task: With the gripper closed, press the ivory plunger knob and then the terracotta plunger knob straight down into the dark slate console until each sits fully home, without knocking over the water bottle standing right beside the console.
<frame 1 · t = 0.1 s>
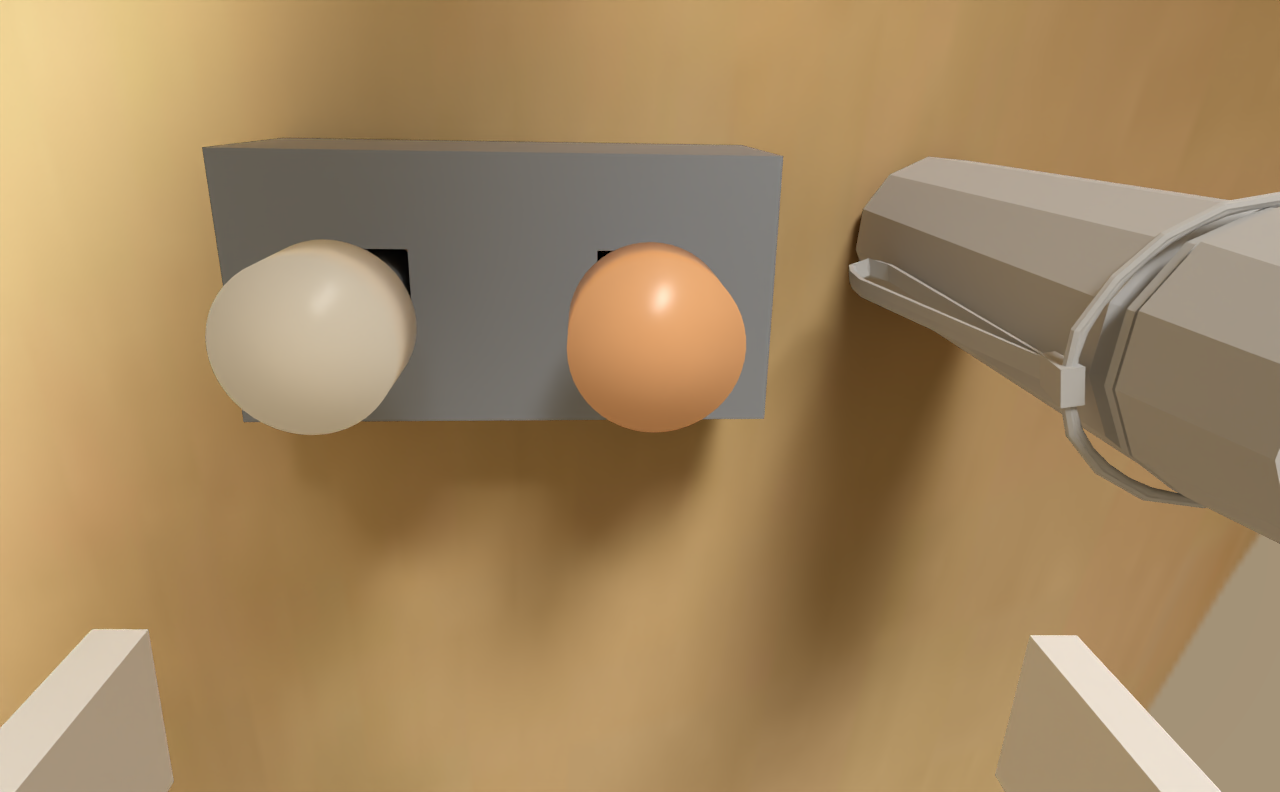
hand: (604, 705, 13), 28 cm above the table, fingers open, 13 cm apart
console: (520, 255, 38), on the table
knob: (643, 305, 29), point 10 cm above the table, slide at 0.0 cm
water bottle: (904, 236, 39), on the table
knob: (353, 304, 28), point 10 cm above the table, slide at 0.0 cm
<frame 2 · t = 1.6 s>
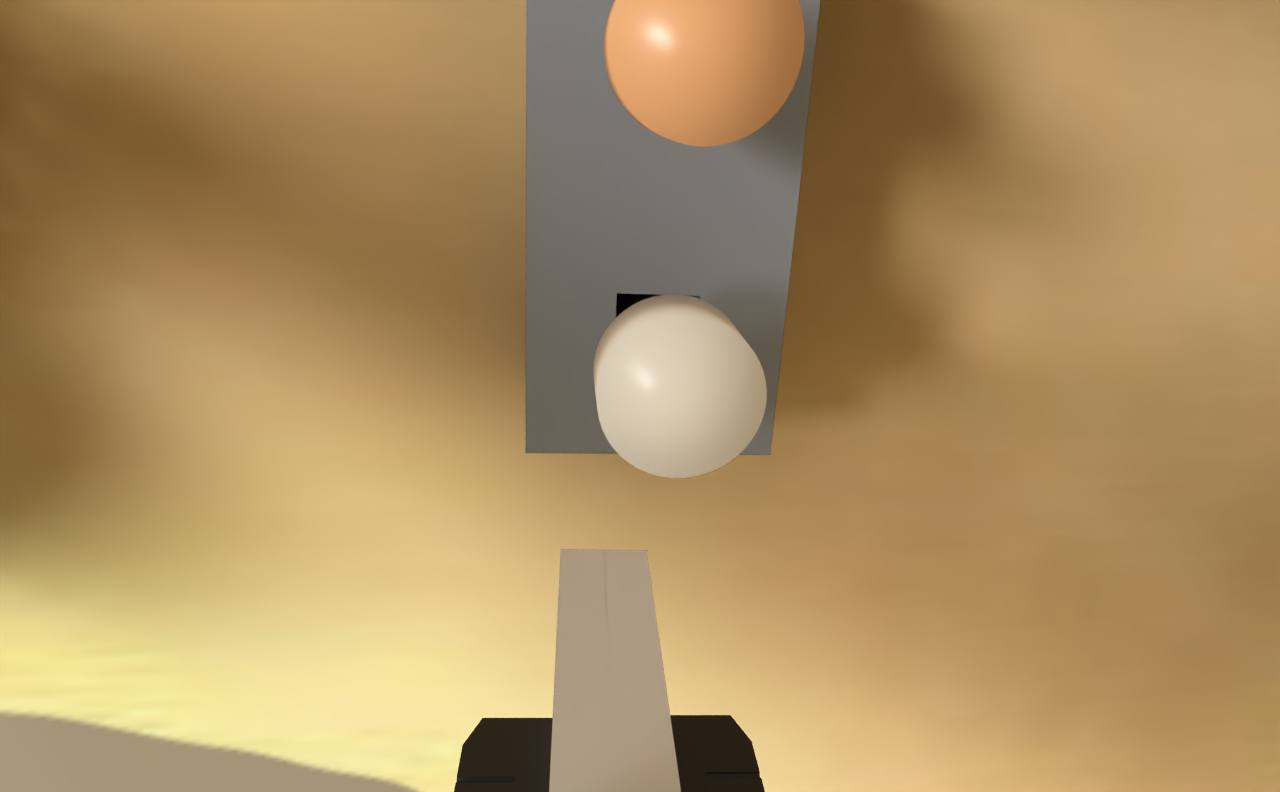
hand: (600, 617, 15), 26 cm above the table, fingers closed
console: (643, 181, 38), on the table
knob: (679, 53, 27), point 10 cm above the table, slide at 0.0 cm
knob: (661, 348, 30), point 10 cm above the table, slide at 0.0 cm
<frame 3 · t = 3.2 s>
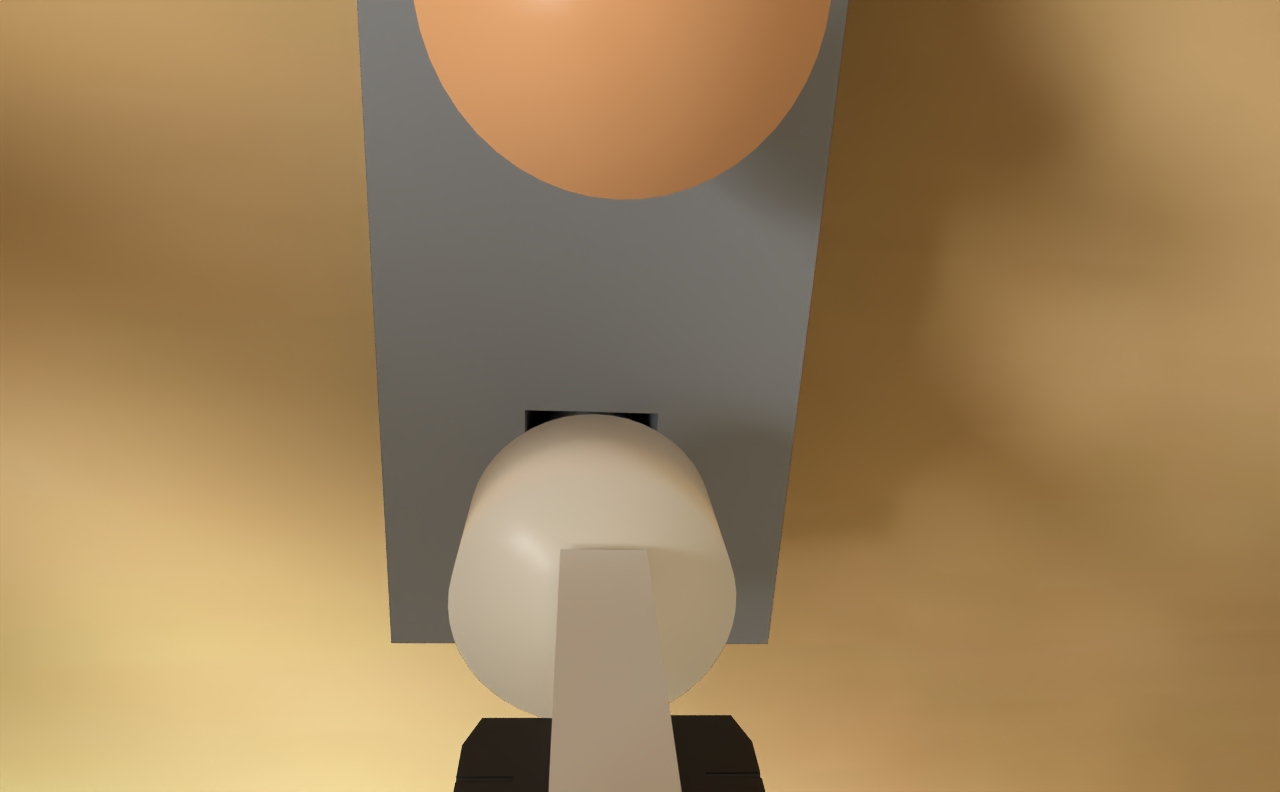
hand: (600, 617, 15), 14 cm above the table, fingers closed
console: (591, 222, 26), on the table
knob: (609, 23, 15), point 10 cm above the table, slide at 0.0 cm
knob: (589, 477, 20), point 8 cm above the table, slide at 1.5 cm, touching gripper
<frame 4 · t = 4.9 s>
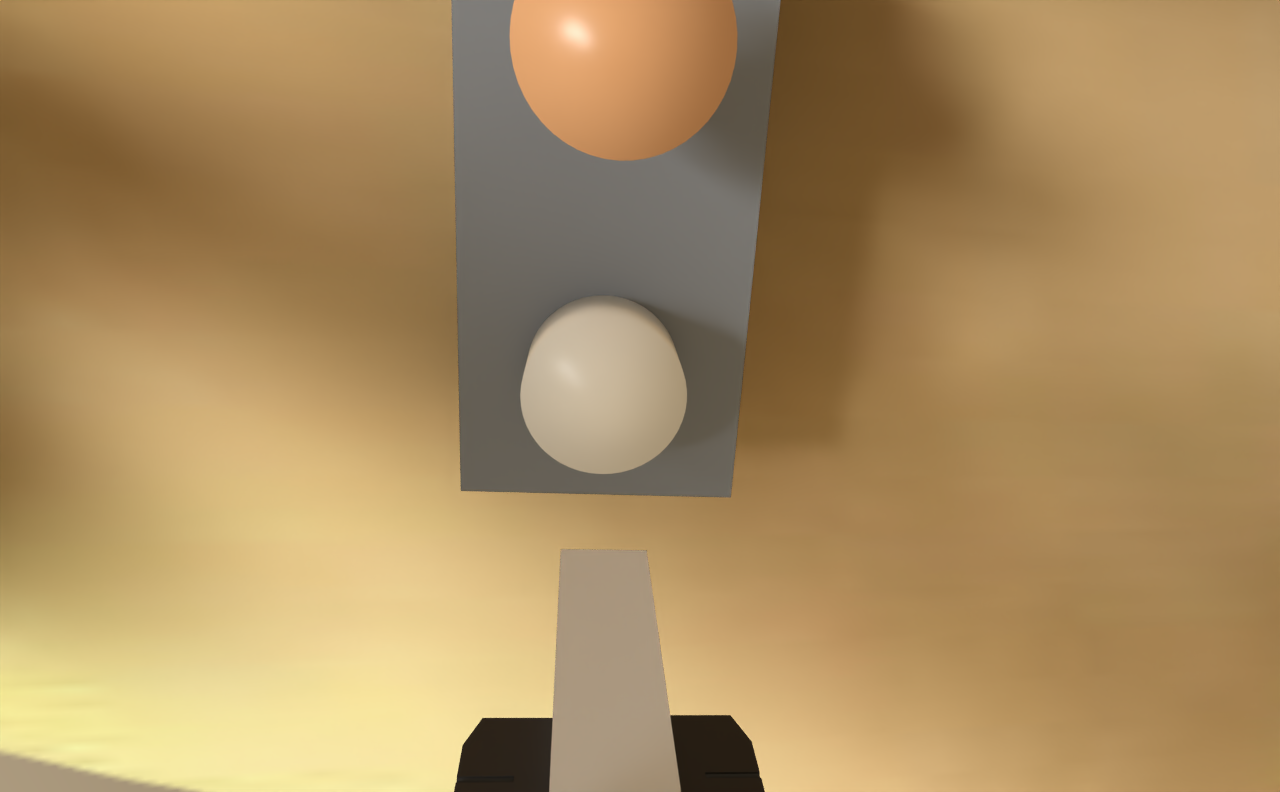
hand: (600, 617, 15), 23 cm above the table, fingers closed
console: (604, 195, 35), on the table
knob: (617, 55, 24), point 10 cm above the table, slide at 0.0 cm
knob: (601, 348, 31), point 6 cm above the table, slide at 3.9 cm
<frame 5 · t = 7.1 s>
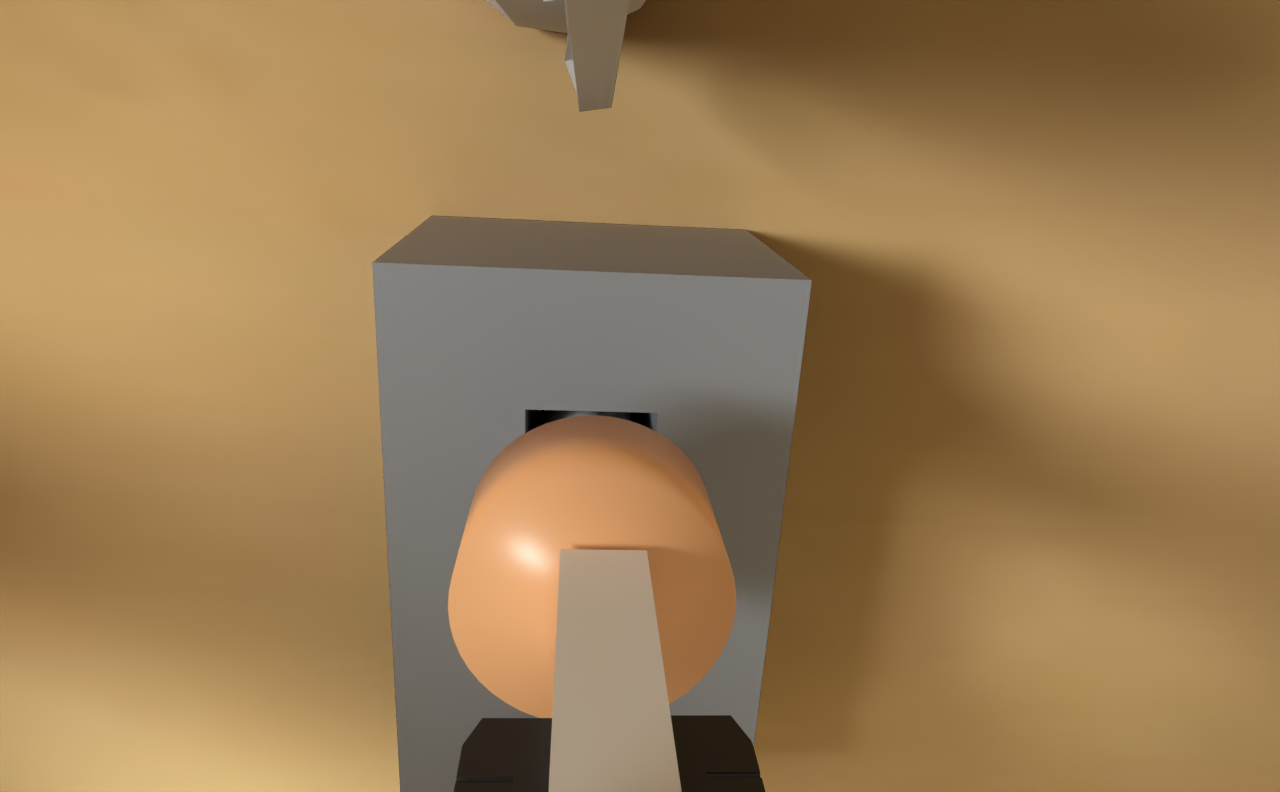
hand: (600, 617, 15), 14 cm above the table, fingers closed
console: (581, 504, 30), on the table
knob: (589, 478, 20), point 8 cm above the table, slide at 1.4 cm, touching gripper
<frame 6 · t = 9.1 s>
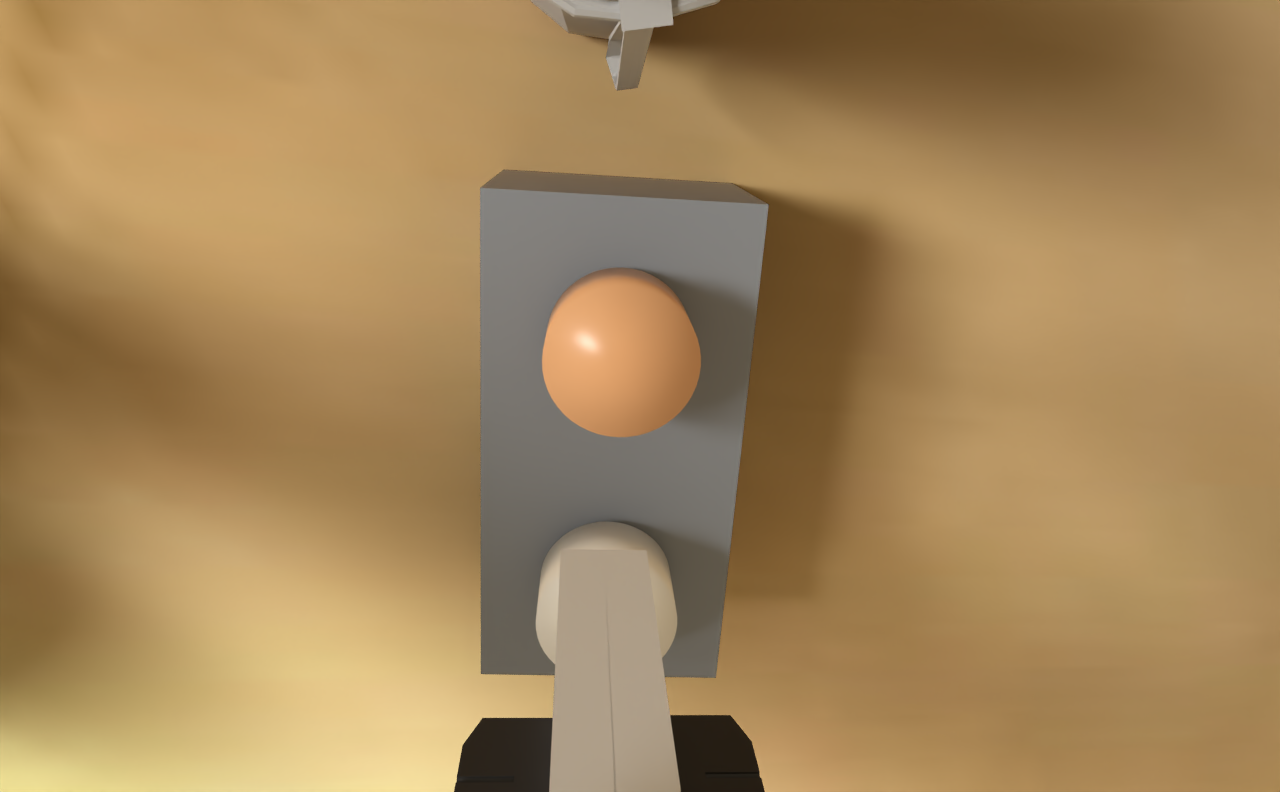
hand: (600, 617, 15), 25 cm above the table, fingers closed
console: (607, 392, 40), on the table
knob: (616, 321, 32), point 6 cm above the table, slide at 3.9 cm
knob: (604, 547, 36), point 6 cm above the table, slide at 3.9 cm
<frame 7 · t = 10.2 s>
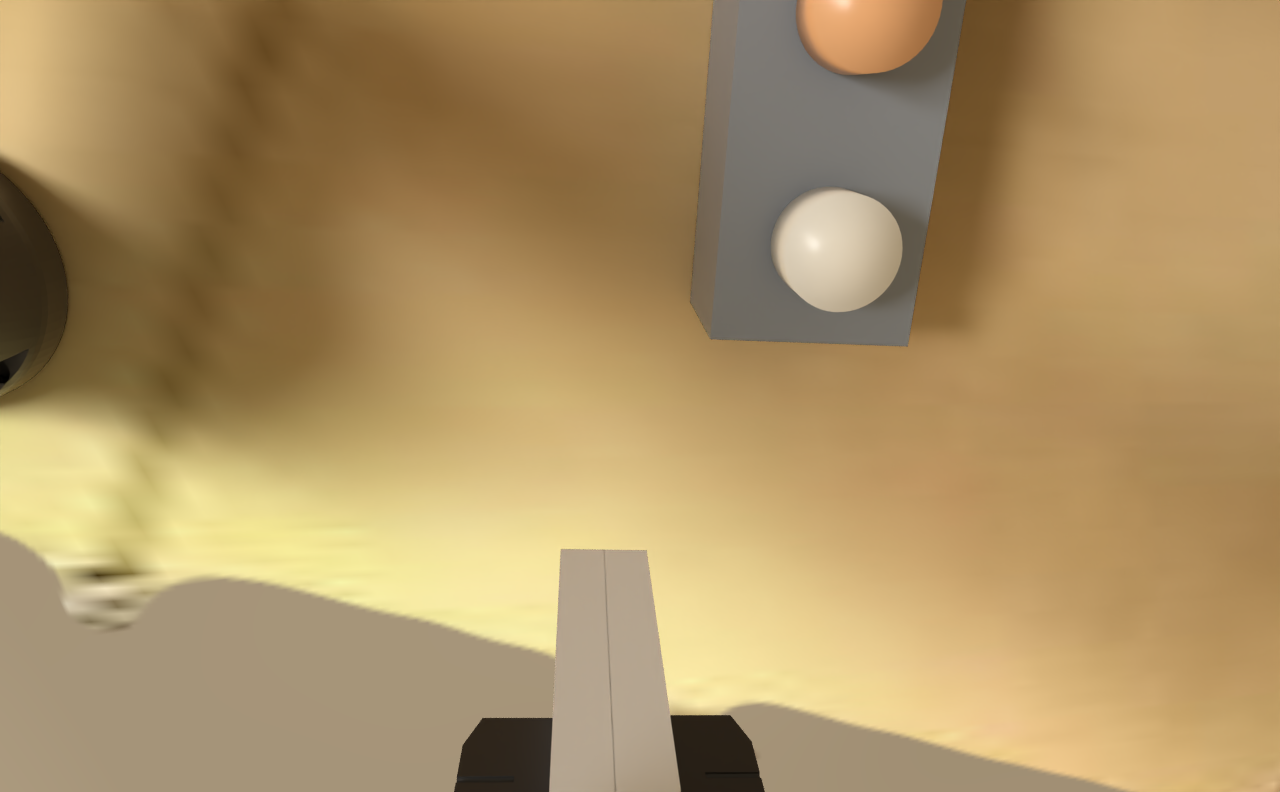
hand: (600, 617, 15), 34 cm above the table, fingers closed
console: (794, 126, 45), on the table
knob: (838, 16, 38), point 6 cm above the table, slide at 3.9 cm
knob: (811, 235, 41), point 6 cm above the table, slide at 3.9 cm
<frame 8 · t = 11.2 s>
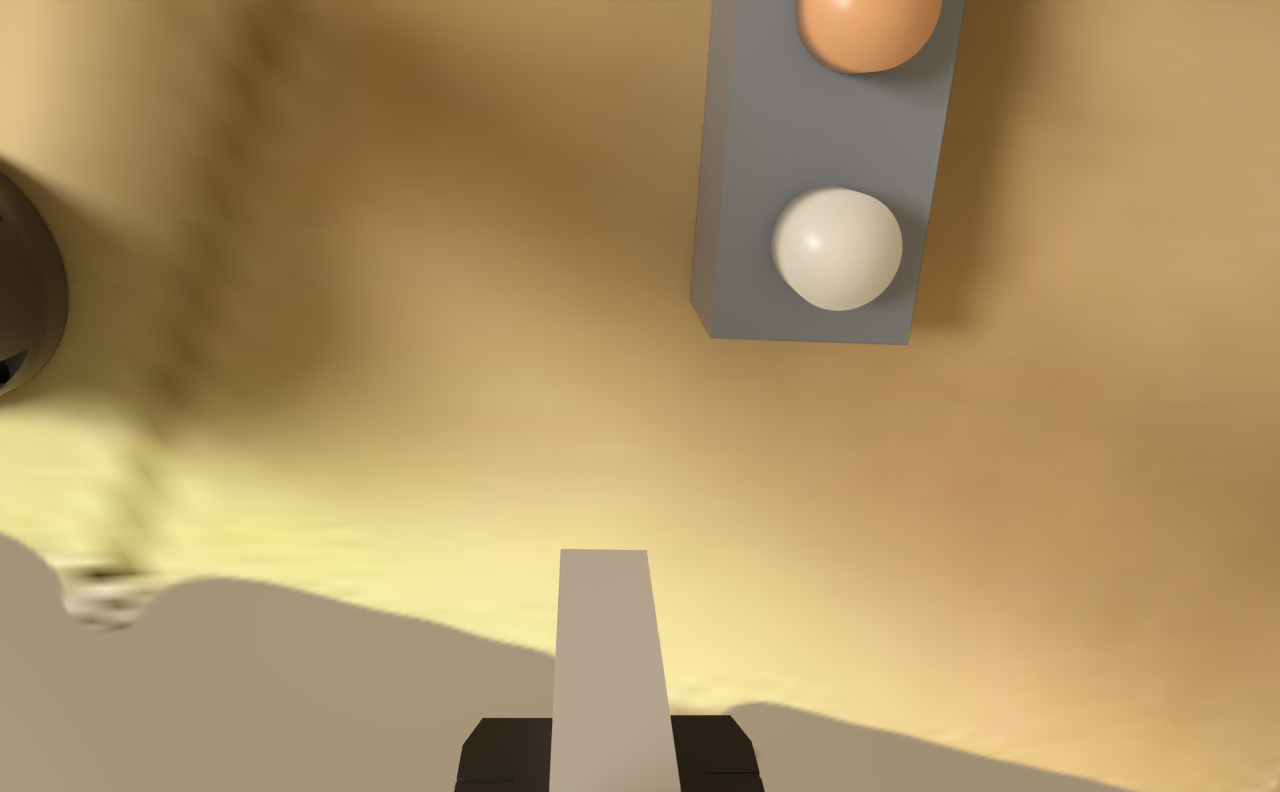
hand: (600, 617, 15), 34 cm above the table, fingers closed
console: (794, 125, 45), on the table
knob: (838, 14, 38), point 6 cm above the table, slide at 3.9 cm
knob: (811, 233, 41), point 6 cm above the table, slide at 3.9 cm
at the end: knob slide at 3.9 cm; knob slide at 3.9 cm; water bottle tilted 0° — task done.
